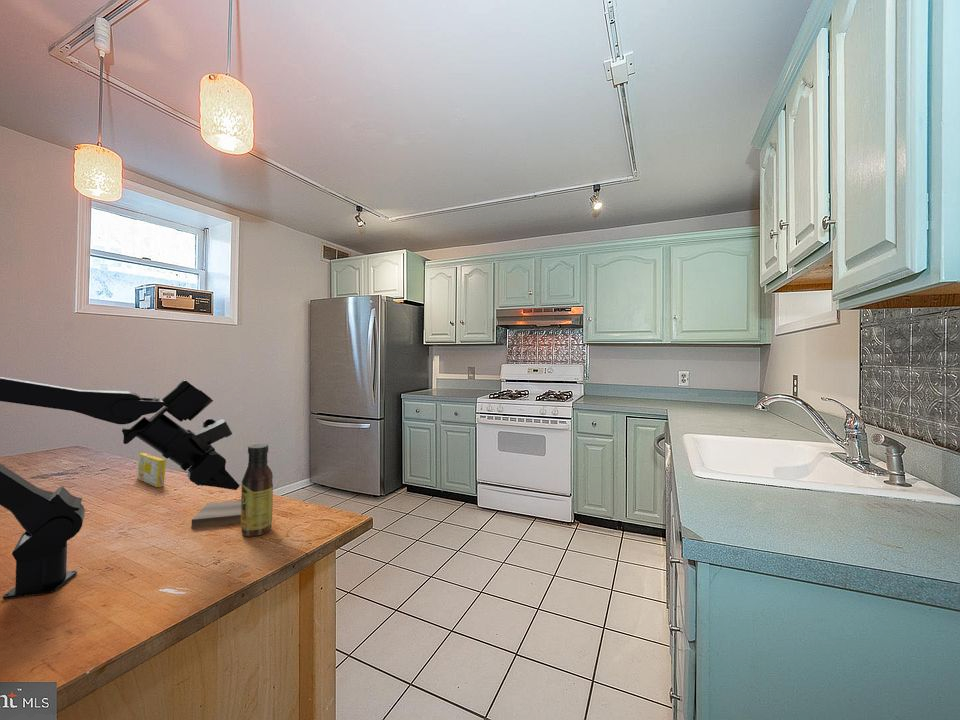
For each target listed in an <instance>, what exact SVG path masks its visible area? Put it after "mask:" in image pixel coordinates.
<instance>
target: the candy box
mask: <svg viewBox="0 0 960 720" xmlns="http://www.w3.org/2000/svg"><path fill="white" fill-rule="evenodd" d="M137 459H138V460H137V474H136V479H137V480H139V481H140V482H141V481H142V482H143V481H144V482H143V483H146V484H147V485H150V486H152V487H154V486H155V488H157V487H159V488H162V487H161V486H163V487H164V486H165V474H166V459H164V458H161V457H158V456H154V455H152V454H149V453H146V452H141V453H138V457H137Z"/></svg>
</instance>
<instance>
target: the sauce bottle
mask: <svg viewBox="0 0 960 720" xmlns="http://www.w3.org/2000/svg"><path fill="white" fill-rule="evenodd" d="M268 453H269V445H268V444H267V443H255V444H251V445H249V446H248V447H247V454H248V463H247V468H246V470H245V472H244V475H243V478H242V481H241V491H240V492H241V493H240V494H241V496H240V500H241V523H240V528H241V534H242V535H243V536H244V537H257V536H261V535H265V534H267V533H268V532H269V531H271V528H272V523H273V502H274V501H273V496H274V495H273V493H274V484H273V477H274V476H273V471H272V470H271V468H270V467H269V465H268V462H269V461H268Z"/></svg>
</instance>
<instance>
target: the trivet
mask: <svg viewBox="0 0 960 720" xmlns="http://www.w3.org/2000/svg"><path fill="white" fill-rule="evenodd" d="M237 524H241V499H240V500H237V499H236V500H227V501H216V502H207V503H205V505H204V506H203V507H202V508H201V509H200V510H199V511H198V512H197V513H196V514H195V516H193V518H191V529H197V528H198V529H199V528H207V527H216V526H226V525H237Z"/></svg>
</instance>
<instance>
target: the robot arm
mask: <svg viewBox="0 0 960 720" xmlns="http://www.w3.org/2000/svg"><path fill="white" fill-rule="evenodd" d="M0 402H5V403H11V404H17V405H18V404H19V405H27V406H33V407H42V408H47V409H54V410H55V409H56V410H63V411H69V412H70V411H71V412H74V413H77V414H81V415H85V416H87V417H90V418H93V419H94V418H95V419H97V420H101V421H103V422H108V423H112V424H115V425H129V424H132V423H133V422H136V421H137V422H136V423H135V424H134V425H132V426H131V427H123V428H121V433H122V435H123V438H122V442H123V444H124V445H127V444H129V443H130V442H132V441H133V440H134V439H135V438H137V439H139V440H141V442H144V443H145V444H146V445H148V446H150V448H153V449H154V450H156V451H157V452H159V454H161V456H162V457H164V458H166V459H169V460H171V461H172V462H173V463H175V464H176V465H178V466H180V468H181V469H182V471H185V472H186V471H187V477H188V479H189V481H190V482H192V483H193V484H195V485H197V486H201V487H203V486H204V487H205V486H206V487H214V488H219V489H226V490H231V491H232V490H233V491H237V490H238V489H239V488H240V484H239V483H238V482H237V480H235V479H234V477H233V476H232V475H231V474H230V473H229V471H228V470H226V463H227V460H226V458H225V457H224V456H223V455H222V454H220V453H218V452H217V451H216V449H215V447H214V446H213V445H212V444H214V443H216V442H218V441H220V440H222V439H224V438H228V437H230V436H232V434H233V432H232V430H231V428H230V426H229V424H228V423H227V421H226V420H225V419H217V421H216V420H215V419H213V418H211V417H210V418H206V419H204V420H202V421H203V422H202V427H200V428H199V429H198V430H196V431H194V432H193V431H192V430H190V429H185V428H184V427H182V426H181V425H179V424H178V422H177V423H176V421H175V420H173V419H172V418H170V417H168V416H167V415H166V414H165V413H166V412H167V413H168V414H169V415H171V416H172V417H173V418H175V419H176V420H177V421H179V422H181V423H182V422H183V421H187V420H188V421H189V422H191V421H192V420H193V419H194V418H196V417H197V416H198V415H199V414H200V413H201V412H203V411H204V410H205V409H206V408H207V407H208V406H209V405H211V404H212V403H213V402H214V399H212V398H211V397H210V396H209V395H208V394H207V393H205V392H204V391H202V390H200V389H198V388H196V387H195V386H194V385H192V384H191V383H190V382H189V381H188V380H185V379H184V380H181V381H180V382H179V383H178V384H177V386H176V387H175V388H174V389H173V390H171V391H170V392H168V394H166V395H165V396H163V397H162V398H156V397H153V398H151V397H141V396H140V395H139V394H137V393H136V392H133V391H127V390H107V389H106V390H104V389H103V390H102V389H101V390H97V389H96V390H95V389H93V390H91V389H86V390H85V389H78V388H71V387H65V386H58V385H54V384H46V383H43V382H42V383H41V382H35V381H28V380H23V379H17V378H10V377H3V376H0ZM151 414H154V415H153V416H150V418H147V417H146V415H151ZM142 416H143V417H142ZM141 417H142V418H141ZM140 418H141V419H140ZM139 419H140V420H139ZM82 500H83V498H82V497H77V496H75V495H73V494H72V493H70V491H68V490H67V489H66V488H65V487H64V486H59V487H58V488H57V489H56V490H55V491H50V490H45V489H42V488H40V487H38V486H36V485H34V484H33V483H31V482H29V481H28V480H26V479H24V478H23V477H22V476H20V475H18V474H17V473H16V472H14V471H13V470H11V469H9V468H8V467H6V466H4V464H2V463H0V506H1V507H3V508H4V509H6V510H8V511H9V512H10V513H11V514H12V515H13V516H14V517H15V519H16V520H17V522H18V523H19V525H20V526H21V527H22V529H24V530H25V532H23V533H22V534H21V536H20V537H19V540H18V541H17V544H16V545H15V547H14V549H12V553H11V554H12V557H13V558H14V560H15V587H13V588H11V589H10V590H9V591H8V592H6V593H4V594H3V595H2V596H1V597H2V598H3V599H2V600H6V599H14V598H21V597H22V598H23V597H29V596H36V595H43V594H51V593H54V592H56V591H57V590H58V589H60V588H61V587H62V586H63V585H65V584H66V583H67V582H68V581H69V580H71V579H73V577H75V575H77V574H78V570H77V569H74V570H68V571H67V567H68V566H67V563H68V561H67V559H68V541H70V540H71V539H73V538H74V537H75V536H76V535H77V534H78V533H79V532H80V531H81V529H82V527H83V523H84V517H85V511H86V509H85V507H84V505H83V504H82Z"/></svg>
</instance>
